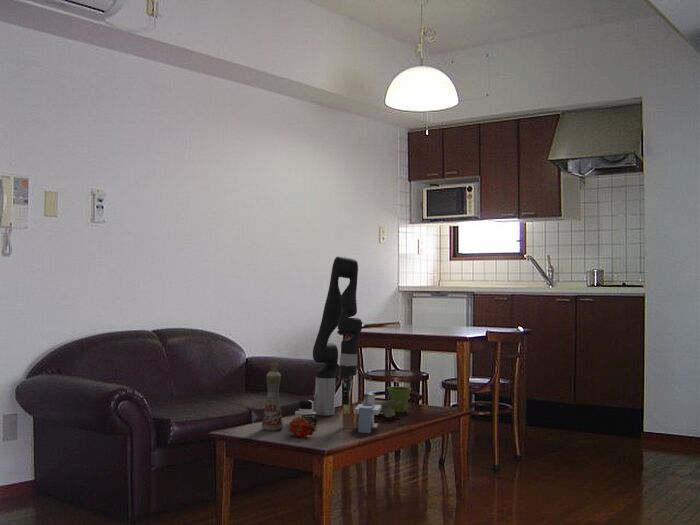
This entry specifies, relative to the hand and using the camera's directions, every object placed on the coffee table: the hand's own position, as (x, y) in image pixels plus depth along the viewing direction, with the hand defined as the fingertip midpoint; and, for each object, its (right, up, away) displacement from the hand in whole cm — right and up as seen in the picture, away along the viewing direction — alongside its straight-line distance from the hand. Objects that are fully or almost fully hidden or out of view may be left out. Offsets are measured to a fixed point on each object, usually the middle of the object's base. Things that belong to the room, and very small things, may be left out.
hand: (346, 403), depth 348 cm
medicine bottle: (-17, -9, -10) cm, 22 cm away
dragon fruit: (-18, -9, -27) cm, 33 cm away
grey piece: (+9, -10, -3) cm, 14 cm away
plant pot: (+25, -12, +44) cm, 51 cm away
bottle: (-31, -9, -13) cm, 34 cm away
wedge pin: (0, -4, 0) cm, 4 cm away
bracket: (+8, -10, -9) cm, 15 cm away
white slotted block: (+16, -11, +26) cm, 33 cm away
